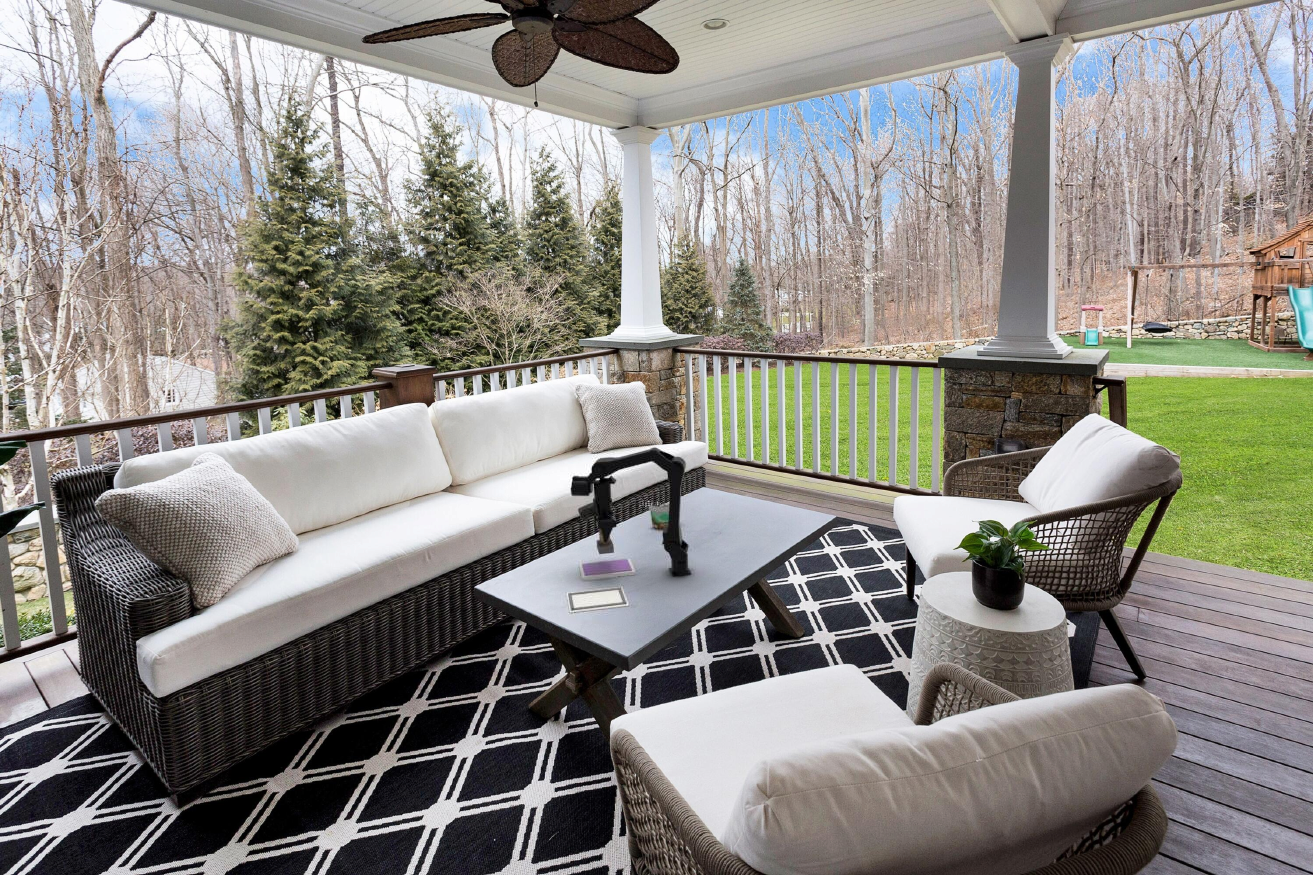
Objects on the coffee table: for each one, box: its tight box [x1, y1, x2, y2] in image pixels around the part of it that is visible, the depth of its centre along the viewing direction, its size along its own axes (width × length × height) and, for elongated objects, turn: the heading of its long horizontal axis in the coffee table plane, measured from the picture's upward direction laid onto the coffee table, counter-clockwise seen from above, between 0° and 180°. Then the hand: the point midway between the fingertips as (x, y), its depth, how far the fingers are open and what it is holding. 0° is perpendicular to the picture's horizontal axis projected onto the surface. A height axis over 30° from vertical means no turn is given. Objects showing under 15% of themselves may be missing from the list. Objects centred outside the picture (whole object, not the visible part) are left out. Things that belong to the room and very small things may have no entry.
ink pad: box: [578, 558, 636, 582], centre depth 238 cm, size 12×18×2 cm, turn 101°
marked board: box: [566, 586, 630, 614], centre depth 215 cm, size 14×18×1 cm
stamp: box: [596, 529, 615, 555], centre depth 235 cm, size 7×5×9 cm
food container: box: [648, 503, 669, 531], centre depth 278 cm, size 12×6×10 cm, turn 112°
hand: (604, 539), depth 235 cm, fingers closed on stamp, 4 cm apart
